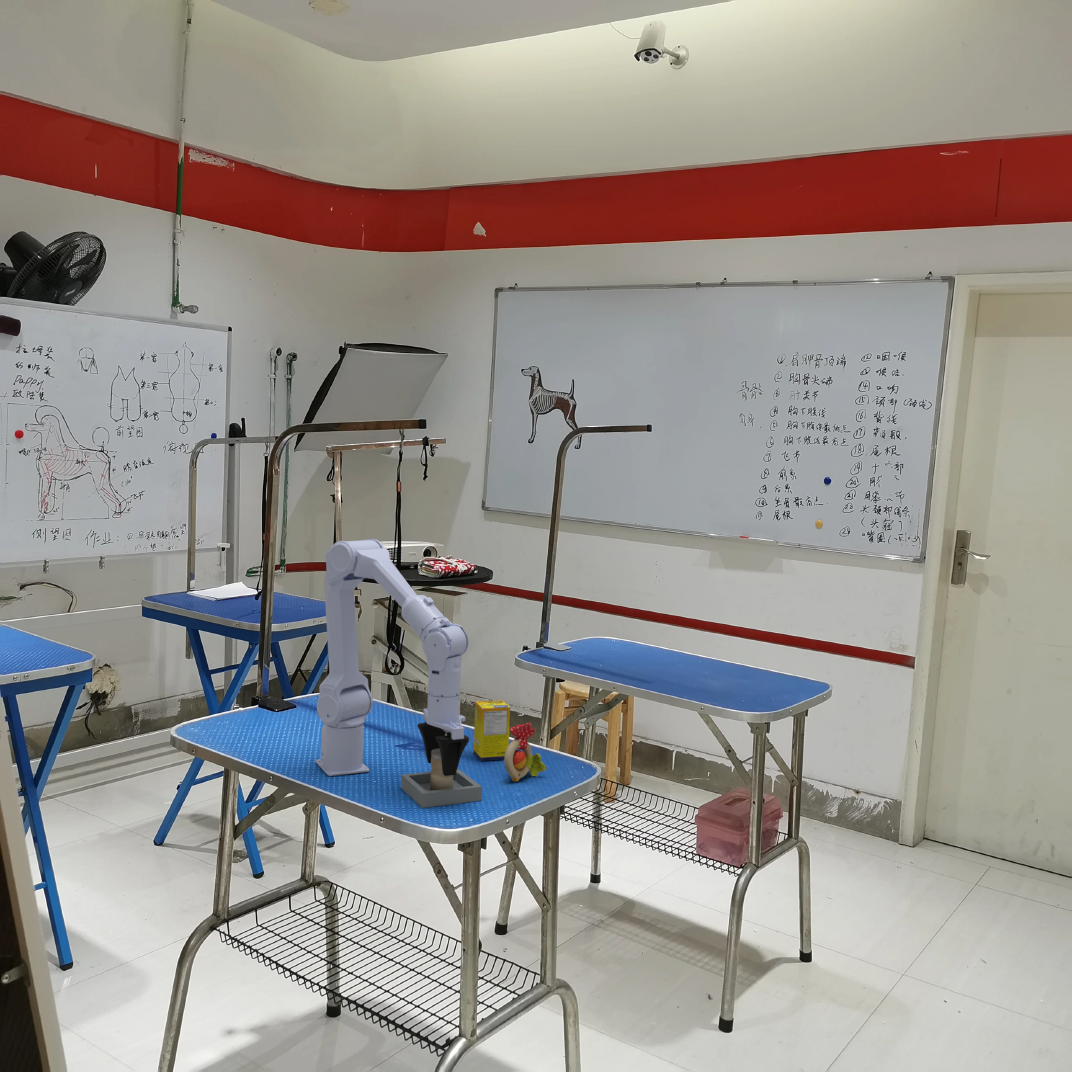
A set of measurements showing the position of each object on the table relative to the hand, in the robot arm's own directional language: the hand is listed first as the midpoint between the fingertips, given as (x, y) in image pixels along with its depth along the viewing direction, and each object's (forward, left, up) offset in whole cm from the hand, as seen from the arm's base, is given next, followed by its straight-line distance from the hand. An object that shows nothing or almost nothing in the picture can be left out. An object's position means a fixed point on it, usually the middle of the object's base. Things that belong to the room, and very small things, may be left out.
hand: (441, 768), depth 179 cm
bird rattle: (-3, +18, -5) cm, 19 cm away
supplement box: (-18, +18, -5) cm, 26 cm away
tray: (0, 0, -5) cm, 5 cm away
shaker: (0, 0, -4) cm, 4 cm away
